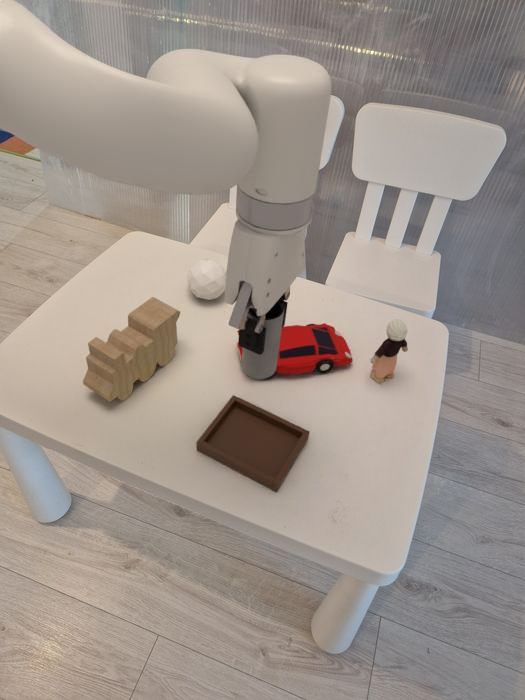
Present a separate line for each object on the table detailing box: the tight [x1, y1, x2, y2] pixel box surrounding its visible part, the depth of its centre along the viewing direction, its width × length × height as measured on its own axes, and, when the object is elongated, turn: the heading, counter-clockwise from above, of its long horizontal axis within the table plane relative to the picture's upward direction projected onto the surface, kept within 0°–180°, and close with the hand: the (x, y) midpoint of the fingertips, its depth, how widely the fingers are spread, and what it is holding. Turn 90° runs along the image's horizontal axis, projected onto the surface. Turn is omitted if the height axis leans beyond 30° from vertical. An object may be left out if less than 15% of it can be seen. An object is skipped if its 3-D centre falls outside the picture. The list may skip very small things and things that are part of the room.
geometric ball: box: [187, 259, 227, 301], centre depth 101 cm, size 8×8×8 cm
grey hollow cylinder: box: [241, 300, 284, 380], centre depth 64 cm, size 4×4×10 cm
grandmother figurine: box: [369, 319, 409, 384], centre depth 87 cm, size 8×4×13 cm, turn 132°
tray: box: [195, 394, 311, 493], centre depth 79 cm, size 14×11×2 cm
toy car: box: [236, 322, 354, 381], centre depth 92 cm, size 10×20×5 cm, turn 106°
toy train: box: [82, 296, 181, 402], centre depth 85 cm, size 6×17×10 cm, turn 146°
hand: (261, 334), depth 64 cm, fingers closed on grey hollow cylinder, 4 cm apart
